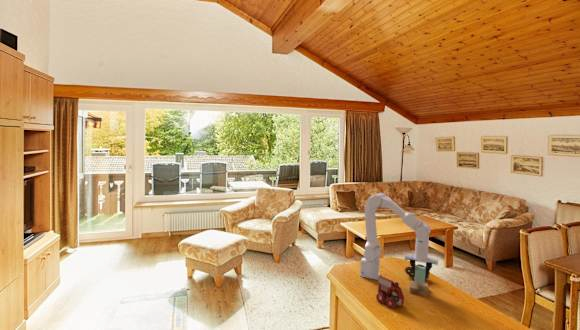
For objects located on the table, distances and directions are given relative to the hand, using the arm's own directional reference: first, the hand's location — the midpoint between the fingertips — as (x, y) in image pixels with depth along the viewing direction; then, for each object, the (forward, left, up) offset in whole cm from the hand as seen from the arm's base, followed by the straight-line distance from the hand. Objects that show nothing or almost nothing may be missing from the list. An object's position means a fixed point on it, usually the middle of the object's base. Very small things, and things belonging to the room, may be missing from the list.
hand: (419, 276), depth 147 cm
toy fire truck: (-12, -18, -7) cm, 23 cm away
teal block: (0, 0, -2) cm, 2 cm away
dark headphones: (-1, +14, -7) cm, 16 cm away
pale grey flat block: (0, 0, -8) cm, 8 cm away
